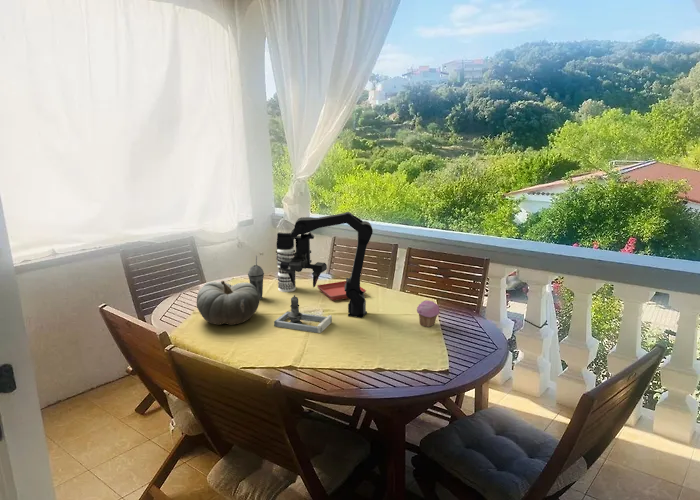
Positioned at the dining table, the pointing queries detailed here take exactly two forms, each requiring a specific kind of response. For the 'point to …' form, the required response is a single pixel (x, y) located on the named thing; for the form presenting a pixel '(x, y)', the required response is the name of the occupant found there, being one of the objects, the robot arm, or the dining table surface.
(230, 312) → the gourd
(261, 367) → the dining table surface
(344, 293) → the plant saucer
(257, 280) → the beverage cup
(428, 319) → the cupcake
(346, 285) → the robot arm
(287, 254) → the decorative candle
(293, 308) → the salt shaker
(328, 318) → the frame
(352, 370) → the dining table surface
